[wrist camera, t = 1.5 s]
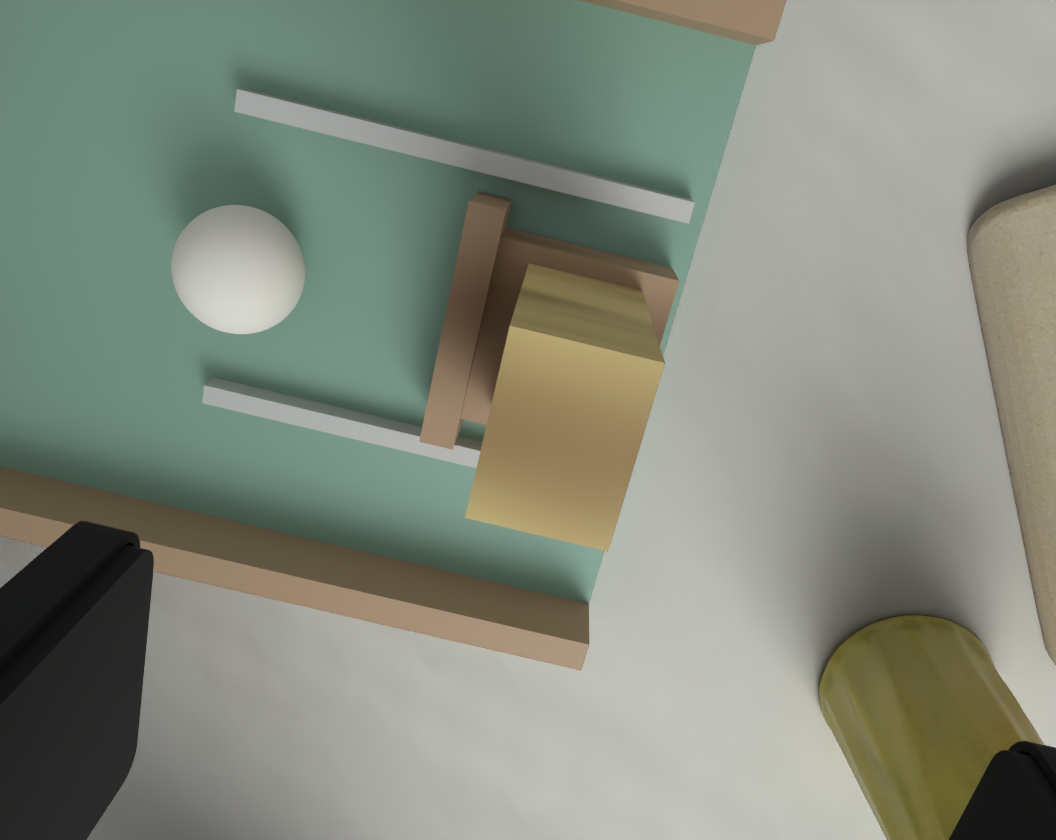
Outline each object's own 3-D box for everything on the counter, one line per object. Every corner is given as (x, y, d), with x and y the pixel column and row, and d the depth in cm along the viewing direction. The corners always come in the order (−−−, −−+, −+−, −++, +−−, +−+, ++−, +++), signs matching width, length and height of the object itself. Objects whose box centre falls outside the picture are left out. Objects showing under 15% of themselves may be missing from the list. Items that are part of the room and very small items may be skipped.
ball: (311, 329, 28) (273, 362, 24) (196, 302, 27) (142, 331, 24) (328, 214, 26) (291, 232, 23) (208, 185, 26) (153, 198, 23)
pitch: (581, 609, 32) (581, 670, 28) (-200, 426, 31) (-295, 467, 28) (759, 9, 25) (787, -4, 22) (-240, -245, 24) (-375, -300, 21)
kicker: (616, 456, 28) (632, 610, 20) (432, 412, 28) (369, 549, 20) (680, 240, 26) (728, 312, 17) (478, 191, 26) (429, 239, 17)
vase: (812, 622, 32) (982, 1013, 18) (992, 601, 31) (1308, 990, 17) (822, 760, 34) (984, 1204, 20) (993, 744, 33) (1276, 1191, 19)
